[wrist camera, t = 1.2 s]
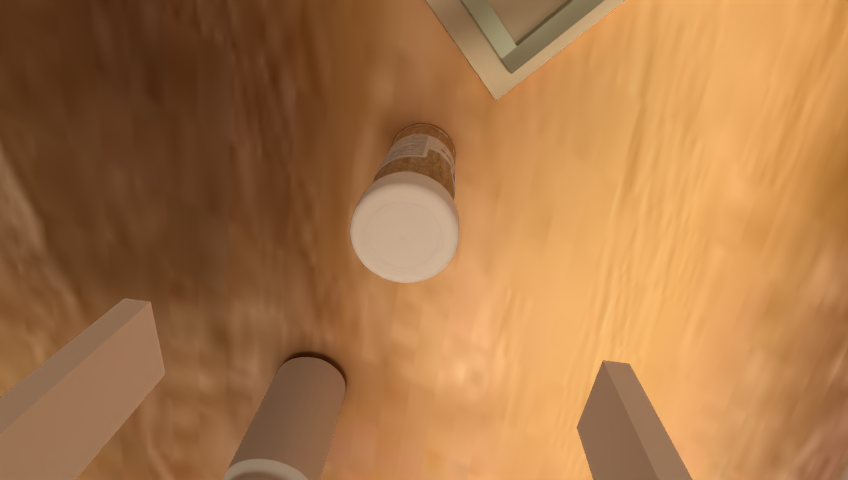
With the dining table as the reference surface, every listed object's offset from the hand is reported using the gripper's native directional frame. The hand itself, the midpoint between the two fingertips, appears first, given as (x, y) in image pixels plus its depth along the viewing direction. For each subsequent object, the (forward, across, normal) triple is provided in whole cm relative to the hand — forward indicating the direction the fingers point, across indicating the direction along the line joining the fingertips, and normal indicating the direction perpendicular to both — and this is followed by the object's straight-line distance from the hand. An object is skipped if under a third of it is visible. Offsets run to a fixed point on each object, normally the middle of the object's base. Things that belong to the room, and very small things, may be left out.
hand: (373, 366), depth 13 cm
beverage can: (+19, -8, -20) cm, 29 cm away
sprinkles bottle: (+19, 0, +2) cm, 19 cm away
